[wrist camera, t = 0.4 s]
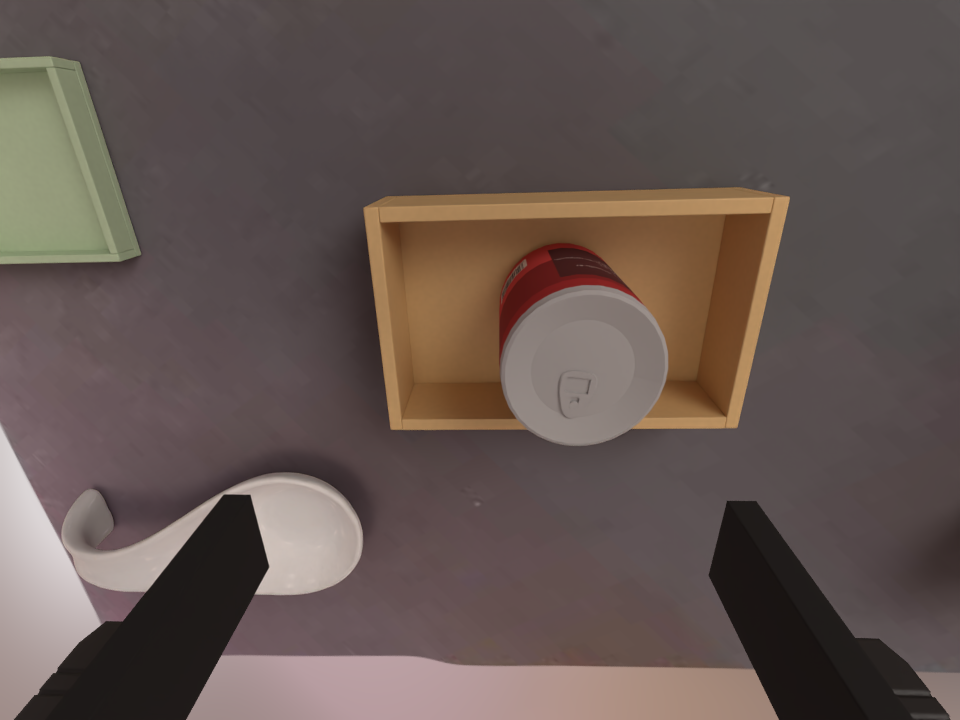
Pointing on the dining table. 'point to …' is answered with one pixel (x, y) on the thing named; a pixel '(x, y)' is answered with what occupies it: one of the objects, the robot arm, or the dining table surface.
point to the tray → (56, 170)
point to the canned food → (577, 348)
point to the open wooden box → (612, 236)
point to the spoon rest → (282, 522)
